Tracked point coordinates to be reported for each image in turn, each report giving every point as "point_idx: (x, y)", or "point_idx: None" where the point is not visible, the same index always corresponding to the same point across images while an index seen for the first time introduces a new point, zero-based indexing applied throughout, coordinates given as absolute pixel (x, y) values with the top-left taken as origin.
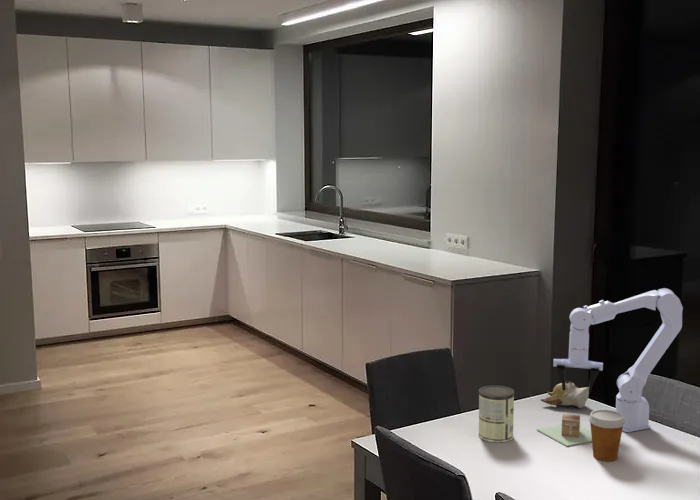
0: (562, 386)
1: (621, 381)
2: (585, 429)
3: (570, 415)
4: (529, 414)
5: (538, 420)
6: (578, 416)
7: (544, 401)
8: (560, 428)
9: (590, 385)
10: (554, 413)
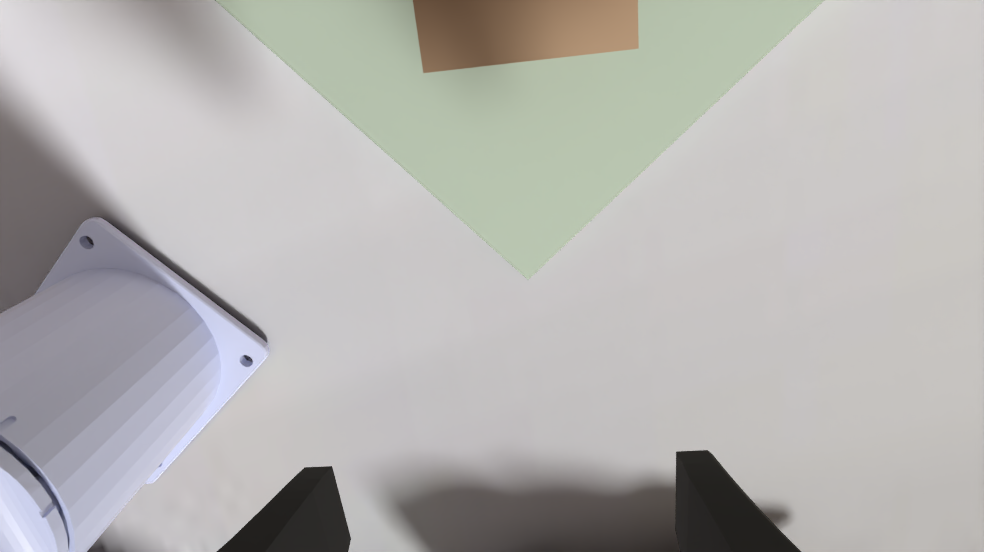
0: (736, 484)
1: None
2: (407, 137)
3: (536, 20)
4: (907, 353)
5: (833, 241)
6: (435, 22)
7: None
8: (629, 73)
9: (254, 541)
10: (696, 435)
